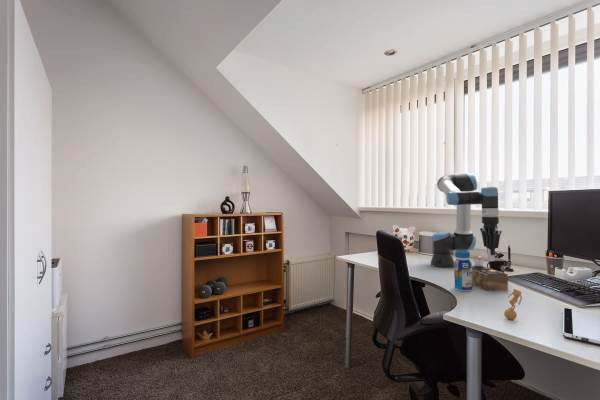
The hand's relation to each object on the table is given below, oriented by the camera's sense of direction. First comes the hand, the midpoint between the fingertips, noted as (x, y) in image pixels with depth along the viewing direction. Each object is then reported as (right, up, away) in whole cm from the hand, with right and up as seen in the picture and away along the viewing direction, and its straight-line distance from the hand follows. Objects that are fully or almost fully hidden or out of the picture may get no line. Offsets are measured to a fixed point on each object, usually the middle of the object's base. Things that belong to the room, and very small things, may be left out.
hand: (491, 260), depth 160 cm
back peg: (-1, -8, +10) cm, 13 cm away
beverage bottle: (-15, -15, -1) cm, 21 cm away
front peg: (0, -14, 0) cm, 14 cm away
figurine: (-17, -15, -41) cm, 47 cm away
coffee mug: (+17, -14, +23) cm, 32 cm away
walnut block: (0, -14, +5) cm, 15 cm away
